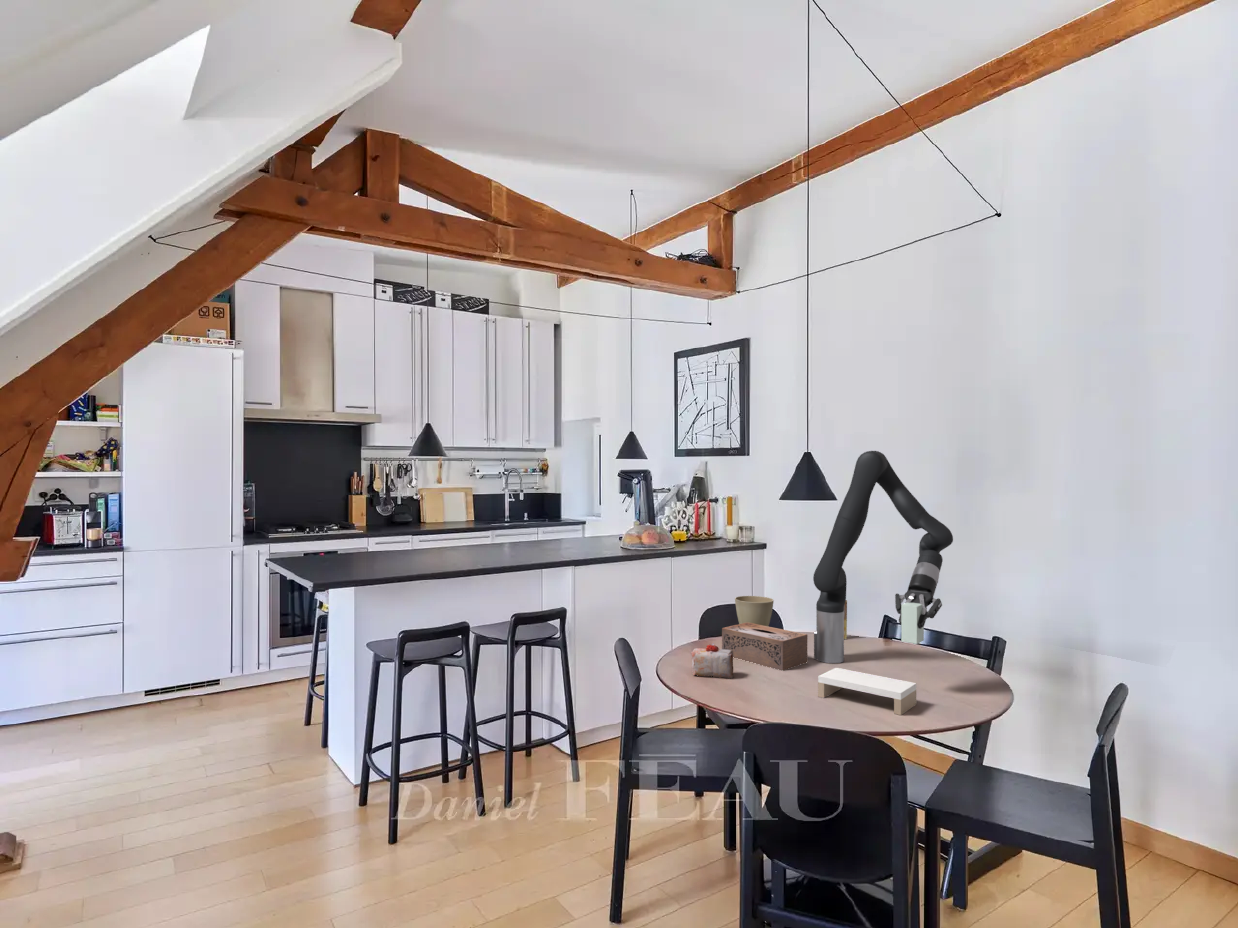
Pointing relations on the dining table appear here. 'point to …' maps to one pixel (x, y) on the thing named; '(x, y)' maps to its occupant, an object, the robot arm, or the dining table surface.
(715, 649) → the food item
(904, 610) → the pale green rectangular block
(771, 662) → the tissue box cover
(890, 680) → the shelf
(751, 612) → the plant pot
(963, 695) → the dining table surface
